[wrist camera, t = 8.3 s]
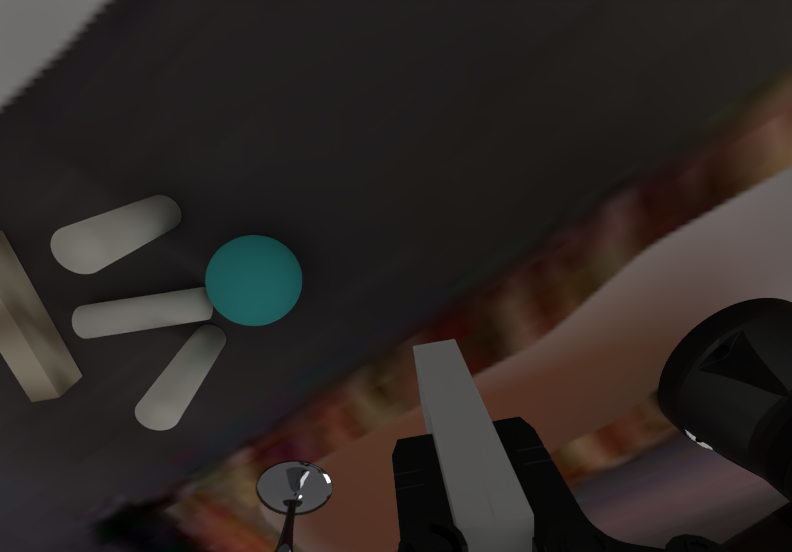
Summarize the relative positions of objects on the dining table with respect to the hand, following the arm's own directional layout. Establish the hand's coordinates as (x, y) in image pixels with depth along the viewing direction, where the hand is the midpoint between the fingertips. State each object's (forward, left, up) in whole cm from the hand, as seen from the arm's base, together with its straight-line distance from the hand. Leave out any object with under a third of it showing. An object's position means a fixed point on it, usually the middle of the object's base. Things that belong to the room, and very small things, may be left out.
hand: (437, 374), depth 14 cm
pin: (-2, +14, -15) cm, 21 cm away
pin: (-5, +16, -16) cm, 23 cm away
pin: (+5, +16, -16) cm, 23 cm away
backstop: (0, +27, -16) cm, 31 cm away
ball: (0, +10, -13) cm, 16 cm away
